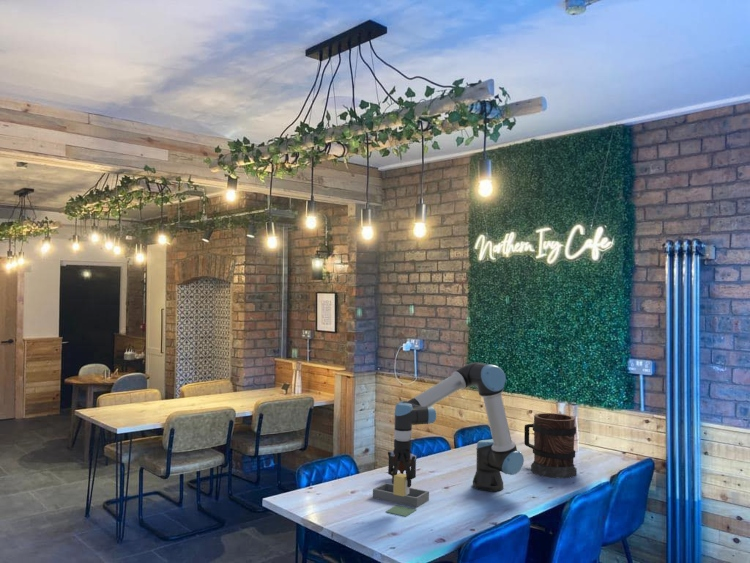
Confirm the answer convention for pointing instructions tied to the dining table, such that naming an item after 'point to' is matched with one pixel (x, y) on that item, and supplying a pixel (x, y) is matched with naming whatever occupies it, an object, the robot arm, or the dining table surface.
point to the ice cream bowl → (402, 465)
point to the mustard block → (399, 484)
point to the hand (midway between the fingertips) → (401, 492)
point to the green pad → (401, 510)
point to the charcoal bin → (412, 499)
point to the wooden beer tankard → (552, 445)
